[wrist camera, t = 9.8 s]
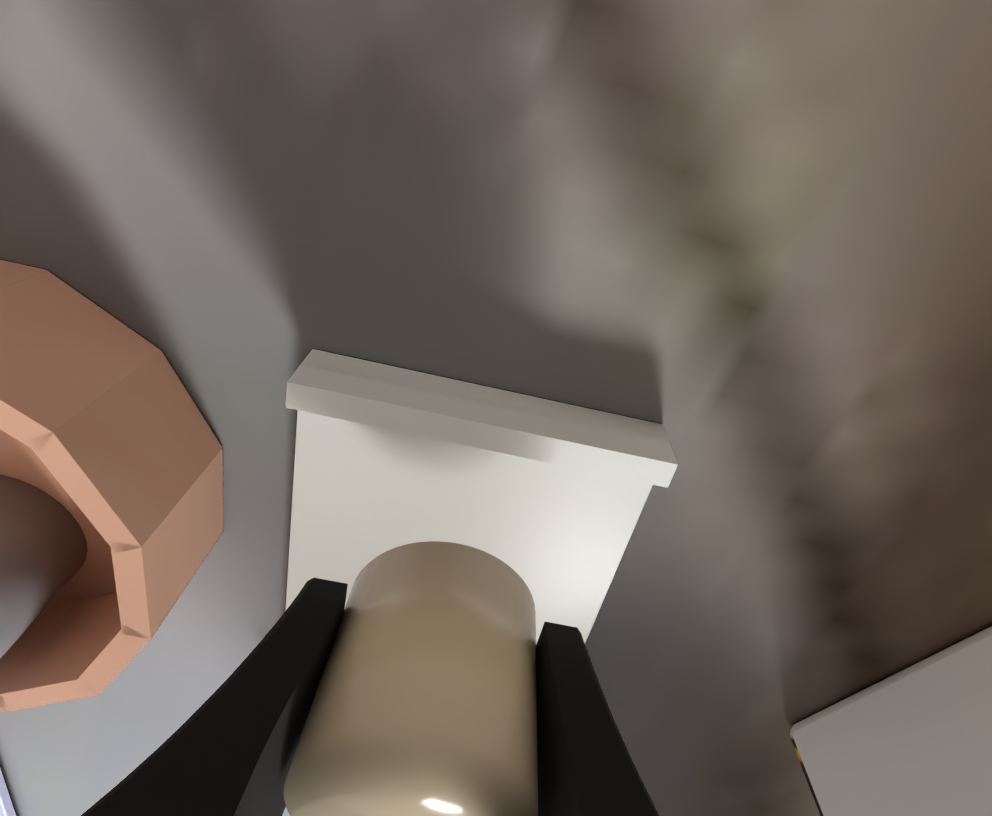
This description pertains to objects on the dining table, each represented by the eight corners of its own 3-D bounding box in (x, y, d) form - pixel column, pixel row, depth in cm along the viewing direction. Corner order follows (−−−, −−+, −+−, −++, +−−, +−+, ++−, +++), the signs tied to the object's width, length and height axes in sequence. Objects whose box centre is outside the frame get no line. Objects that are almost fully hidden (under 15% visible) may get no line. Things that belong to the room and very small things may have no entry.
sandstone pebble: (512, 687, 13) (506, 890, 10) (341, 656, 12) (278, 853, 9) (556, 562, 11) (568, 759, 8) (359, 523, 11) (289, 710, 8)
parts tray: (535, 734, 20) (535, 786, 18) (288, 690, 19) (269, 738, 18) (663, 424, 14) (678, 464, 12) (312, 348, 13) (287, 381, 12)
